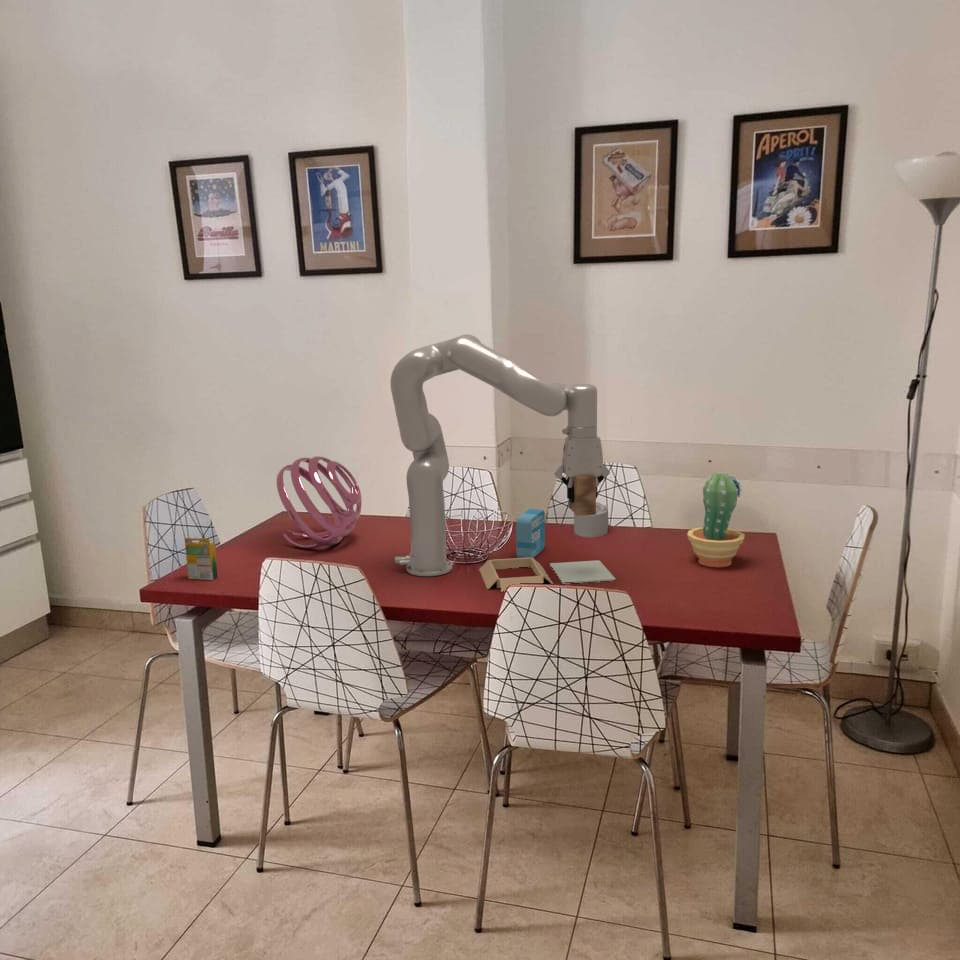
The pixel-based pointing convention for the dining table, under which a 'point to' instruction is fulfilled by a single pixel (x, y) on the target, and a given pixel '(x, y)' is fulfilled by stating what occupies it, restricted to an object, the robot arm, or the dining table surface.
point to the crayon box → (201, 559)
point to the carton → (491, 565)
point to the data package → (530, 533)
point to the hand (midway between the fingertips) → (582, 500)
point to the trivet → (582, 572)
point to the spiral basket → (340, 515)
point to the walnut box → (584, 495)
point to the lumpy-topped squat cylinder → (592, 523)
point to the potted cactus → (717, 522)
